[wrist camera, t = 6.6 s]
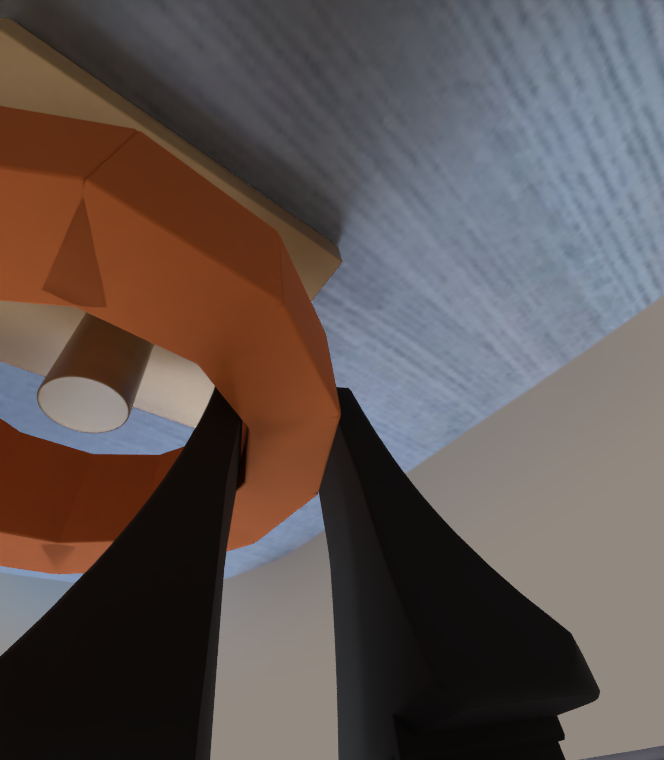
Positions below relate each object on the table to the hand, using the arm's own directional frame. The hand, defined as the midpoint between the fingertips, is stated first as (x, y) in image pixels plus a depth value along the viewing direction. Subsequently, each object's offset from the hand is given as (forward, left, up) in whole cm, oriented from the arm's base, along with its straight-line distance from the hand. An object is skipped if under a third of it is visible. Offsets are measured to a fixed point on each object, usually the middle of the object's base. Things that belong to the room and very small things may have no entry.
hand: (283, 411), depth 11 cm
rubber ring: (-2, +4, -1) cm, 5 cm away
